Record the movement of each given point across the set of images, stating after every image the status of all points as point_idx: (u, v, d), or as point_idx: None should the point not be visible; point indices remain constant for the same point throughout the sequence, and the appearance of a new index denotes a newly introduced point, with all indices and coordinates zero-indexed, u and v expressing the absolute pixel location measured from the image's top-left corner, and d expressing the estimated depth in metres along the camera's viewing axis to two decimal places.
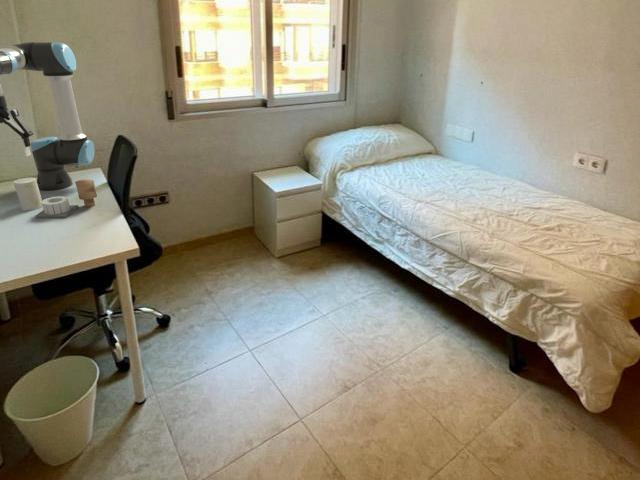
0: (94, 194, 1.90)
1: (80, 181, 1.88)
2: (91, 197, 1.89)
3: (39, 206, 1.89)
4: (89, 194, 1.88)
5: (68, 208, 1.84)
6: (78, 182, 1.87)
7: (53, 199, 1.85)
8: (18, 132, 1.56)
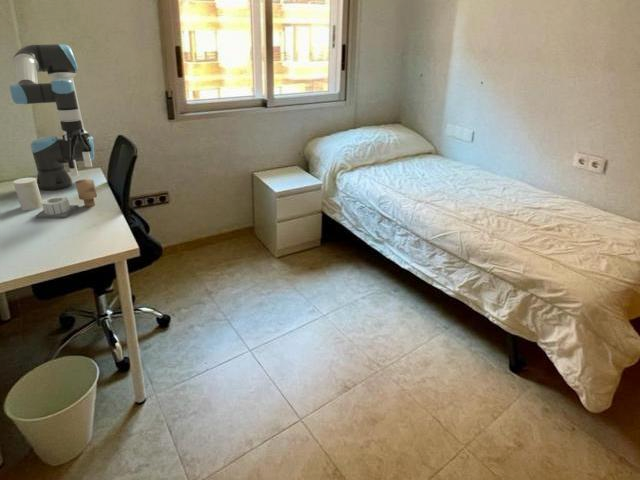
0: (94, 194, 1.90)
1: (80, 181, 1.88)
2: (91, 197, 1.89)
3: (39, 206, 1.89)
4: (89, 194, 1.88)
5: (68, 208, 1.84)
6: (78, 182, 1.87)
7: (53, 199, 1.85)
8: None
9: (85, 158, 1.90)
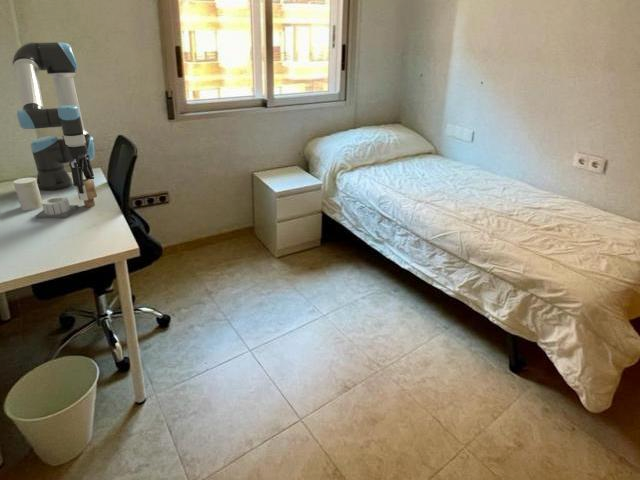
0: (94, 194, 1.90)
1: None
2: (91, 197, 1.89)
3: (39, 206, 1.89)
4: (89, 194, 1.88)
5: (68, 208, 1.84)
6: None
7: (53, 199, 1.85)
8: None
9: None
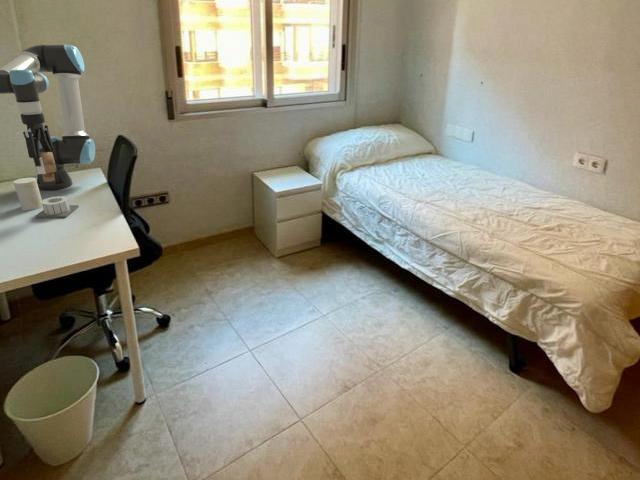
0: (53, 168, 1.76)
1: None
2: (50, 171, 1.75)
3: (39, 206, 1.89)
4: (47, 167, 1.74)
5: (68, 208, 1.84)
6: None
7: (53, 199, 1.85)
8: None
9: None
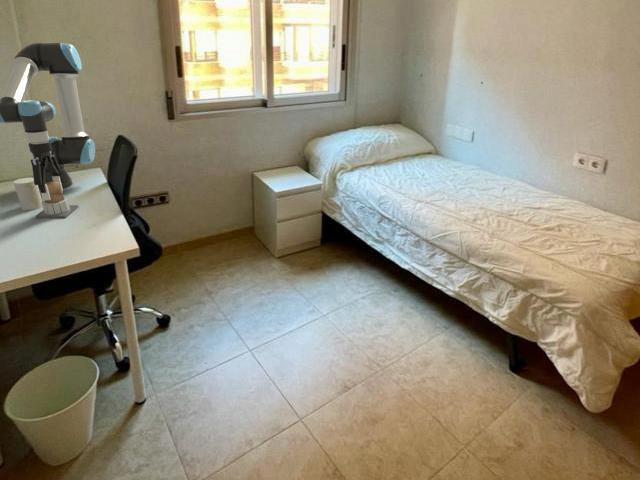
0: (61, 197, 1.81)
1: None
2: (57, 200, 1.80)
3: (39, 206, 1.89)
4: (55, 197, 1.79)
5: (68, 208, 1.84)
6: None
7: None
8: None
9: None
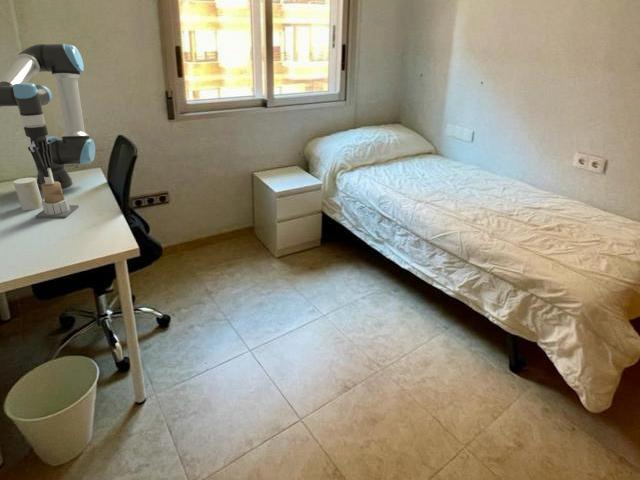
0: (61, 197, 1.81)
1: (46, 184, 1.80)
2: (57, 200, 1.80)
3: (39, 206, 1.89)
4: (55, 197, 1.79)
5: (68, 208, 1.84)
6: (44, 185, 1.78)
7: None
8: None
9: None
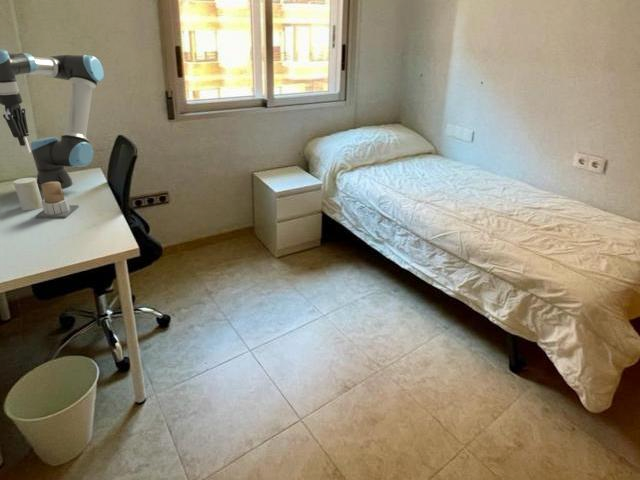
0: (61, 197, 1.81)
1: (46, 184, 1.80)
2: (57, 200, 1.80)
3: (39, 206, 1.89)
4: (55, 197, 1.79)
5: (68, 208, 1.84)
6: (44, 185, 1.78)
7: None
8: None
9: None
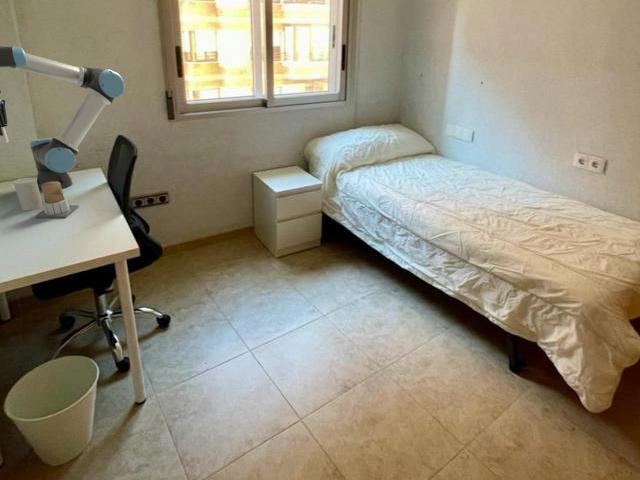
0: (61, 197, 1.81)
1: (46, 184, 1.80)
2: (57, 200, 1.80)
3: (39, 206, 1.89)
4: (55, 197, 1.79)
5: (68, 208, 1.84)
6: (44, 185, 1.78)
7: None
8: None
9: None
